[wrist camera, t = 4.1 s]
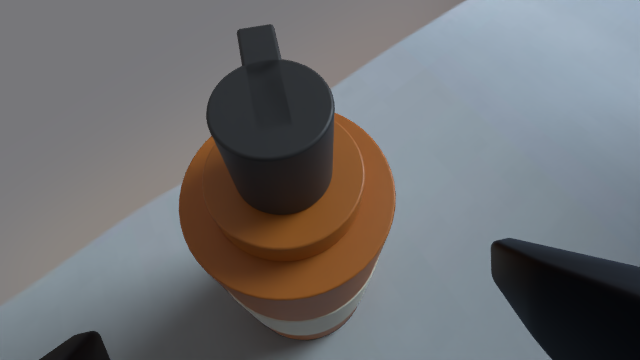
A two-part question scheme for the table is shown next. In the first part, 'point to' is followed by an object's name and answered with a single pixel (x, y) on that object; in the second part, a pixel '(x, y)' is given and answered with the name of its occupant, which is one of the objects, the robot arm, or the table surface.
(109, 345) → the table surface
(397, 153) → the table surface
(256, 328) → the table surface
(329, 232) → the sanitizer bottle
